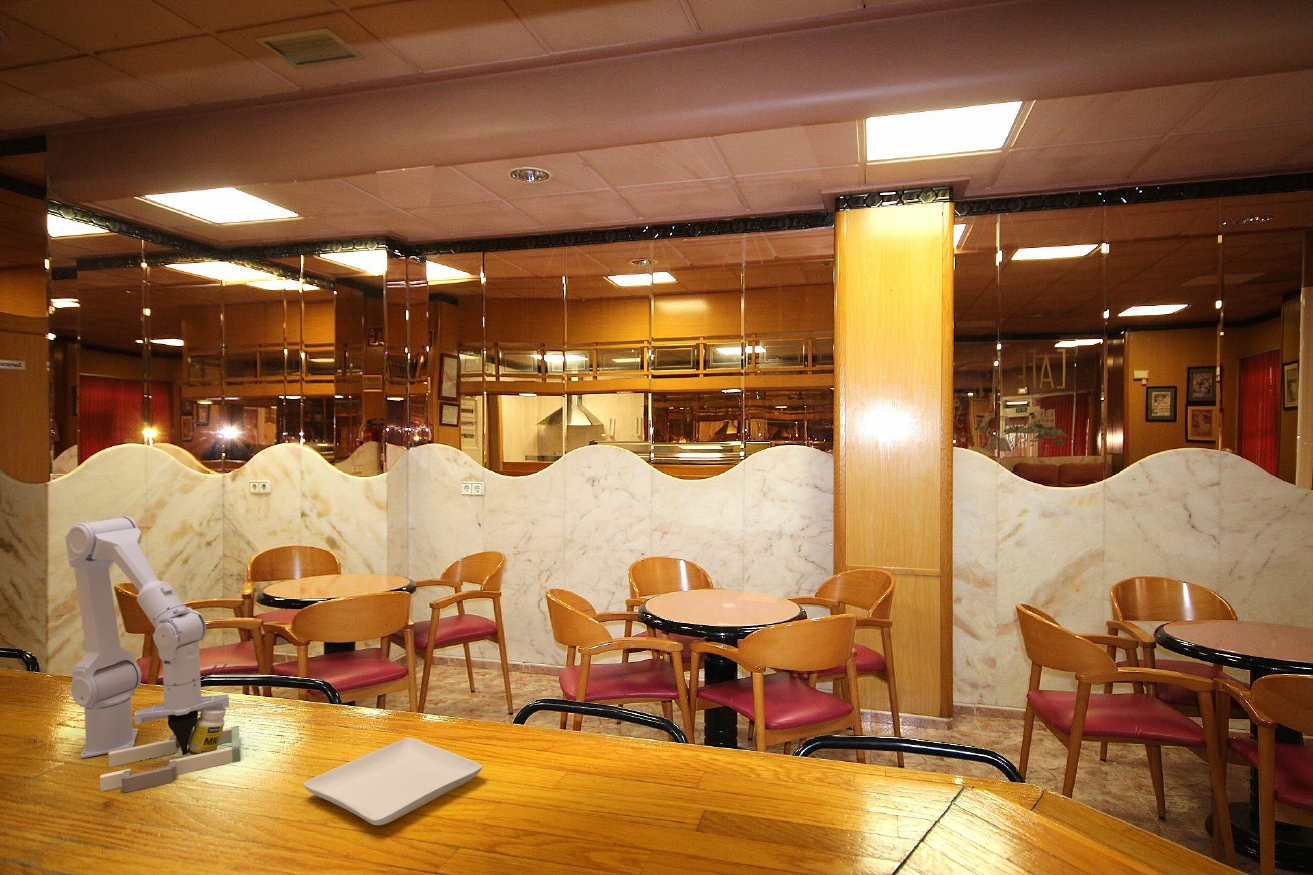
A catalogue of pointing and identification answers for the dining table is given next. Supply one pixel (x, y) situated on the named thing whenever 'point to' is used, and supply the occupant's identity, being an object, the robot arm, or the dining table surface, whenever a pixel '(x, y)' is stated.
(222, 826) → the dining table surface
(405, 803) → the salad plate
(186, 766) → the beige piece
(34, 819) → the dining table surface
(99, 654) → the robot arm
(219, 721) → the supplement bottle
